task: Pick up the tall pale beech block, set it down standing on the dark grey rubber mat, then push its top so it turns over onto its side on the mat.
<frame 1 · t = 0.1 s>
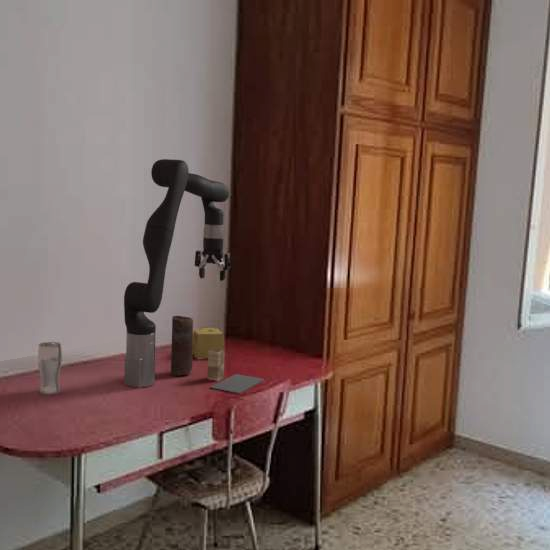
hand: (212, 279, 270), 29 cm above the table, tool pointing down, fingers open, 8 cm apart
beer glass: (49, 392, 221), on the table
mat: (237, 384, 238), on the table
brown rough cylinder: (181, 374, 247), on the table
block: (215, 379, 242), on the table
cheese: (207, 356, 272), on the table
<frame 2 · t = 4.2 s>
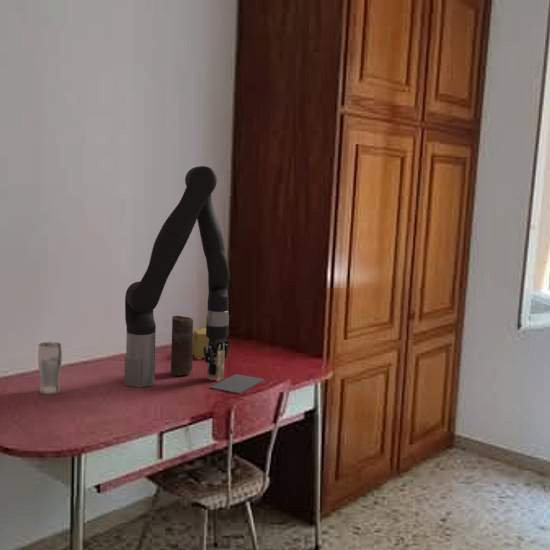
hand: (215, 372, 242), 2 cm above the table, tool pointing down, fingers closed on block, 4 cm apart
block: (215, 379, 242), on the table, touching gripper
everything else where it was.
when the fingers open (4 cm above the table, at t = 9.1 s): block stays where it is, resting on mat.
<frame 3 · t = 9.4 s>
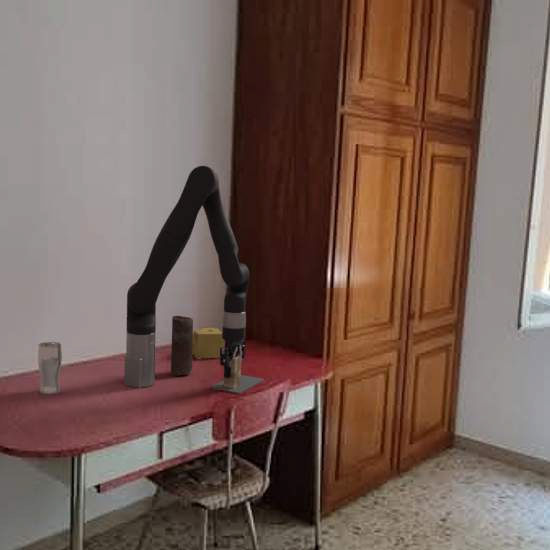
hand: (232, 375, 233), 4 cm above the table, tool pointing down, fingers open, 6 cm apart
block: (231, 385, 234), resting on mat
everything else where it was.
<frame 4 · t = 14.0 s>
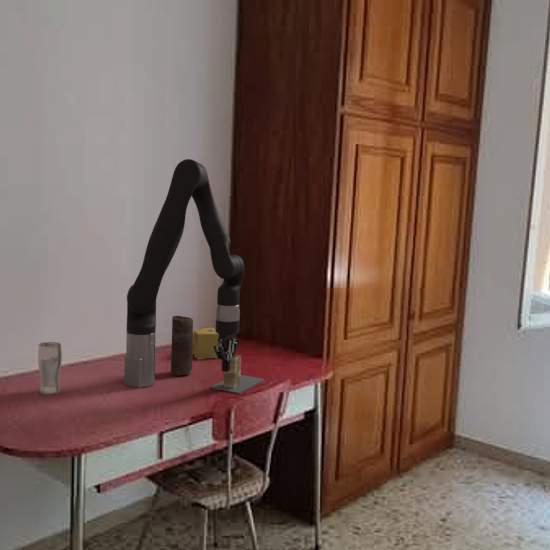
hand: (225, 371, 229), 7 cm above the table, tool pointing down, fingers closed
block: (231, 385, 234), resting on mat, touching gripper
everything else where it was.
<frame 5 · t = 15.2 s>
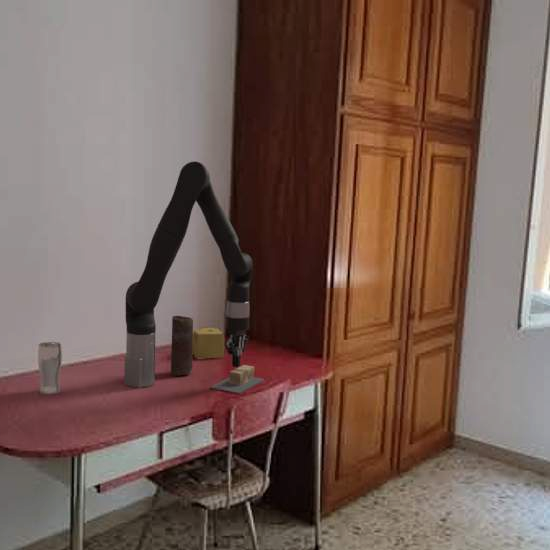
hand: (236, 366, 235), 7 cm above the table, tool pointing down, fingers closed
block: (235, 378, 236), point 2 cm above the table, tilted 90°, touching mat
everything else where it was.
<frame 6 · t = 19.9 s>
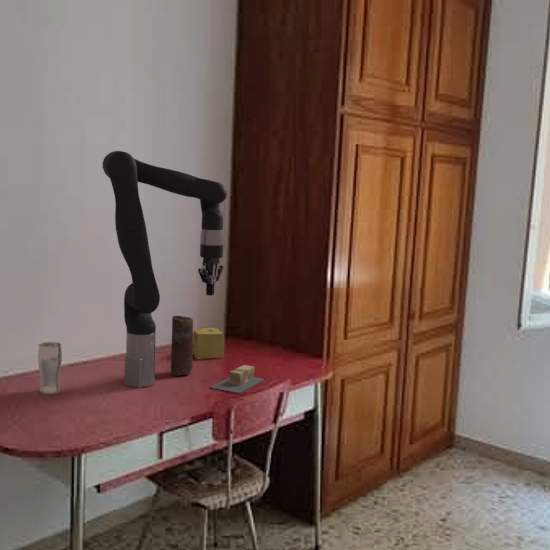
hand: (210, 294, 237), 29 cm above the table, tool pointing down, fingers closed
nothing on the table moved.
at the end: block tilted 90°; block inside the target area on the mat (2.0 cm from its centre), point 2.4 cm above the mat's base; the gripper is holding nothing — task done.
